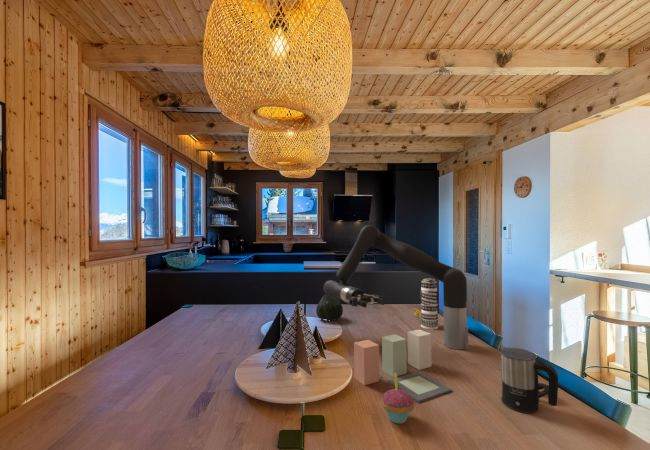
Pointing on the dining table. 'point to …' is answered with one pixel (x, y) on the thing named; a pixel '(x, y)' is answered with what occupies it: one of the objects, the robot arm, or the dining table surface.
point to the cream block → (419, 349)
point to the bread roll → (418, 313)
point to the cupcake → (397, 403)
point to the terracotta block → (366, 362)
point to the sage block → (394, 355)
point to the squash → (329, 308)
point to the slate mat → (420, 386)
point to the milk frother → (525, 380)
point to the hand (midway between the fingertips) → (374, 303)
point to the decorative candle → (429, 303)
